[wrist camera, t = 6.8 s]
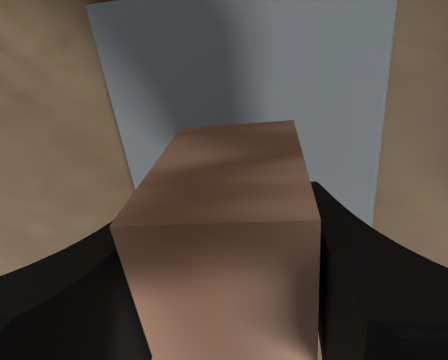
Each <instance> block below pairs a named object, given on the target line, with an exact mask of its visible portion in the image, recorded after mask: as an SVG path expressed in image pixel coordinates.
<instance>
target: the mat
mask: <svg viewBox="0 0 448 360" xmlns="http://www.w3.org/2000/svg"><path fill="white" fill-rule="evenodd" d="M85 6H86V10H87V14H88V17H89V21H90V25H91V29H92V32H93V36H94V40H95V43H96V47H97V51H98V54H99V58H100V62H101V66H102V69H103V73H104V77H105V80H106V84H107V88H108V91H109V95H110V99H111V102H112V106H113V110H114V114H115V117H116V121H117V125H118V128H119V132H120V136H121V139H122V143H123V147H124V151H125V154H126V158H127V162H128V165H129V169H130V173H131V176H132V180H133V184H134V187H135V190H136V189H137V187H138V186H139V185H140V183H141V182H142V181H143V179H144V178H145V176H146V175H147V174H148V172H149V171H150V169H151V168H152V167H153V165H154V164H155V163H156V161H157V160H158V158H159V157H160V156H161V154H162V153H163V151H164V150H165V149H166V147H167V146H168V144H169V143H170V142H171V140H172V139H173V138H174V136H175V135H176V133H177V132H178V131H179V129H181V128H194V127H207V126H220V125H233V124H246V123H259V122H272V121H285V120H294V123H295V127H296V131H297V134H298V138H299V142H300V145H301V149H302V153H303V156H304V160H305V164H306V167H307V171H308V175H309V178H310V182H313V181H317V182H318V183H319V184H320V185H321V186H323V187H324V188H325V189H326V190H327V191H328V192H329V193H330V194H331V195H332V196H333V197H334V198H335V199H336V200H337V201H339V202H340V203H341V204H342V205H343V206H344V207H345V208H347V209H348V210H349V211H350V212H352V213H353V214H354V215H355V216H357V217H358V218H359V219H361V220H362V221H363V222H365V223H366V224H368V225H369V226H370V227H372V221H373V212H374V203H375V194H376V185H377V176H378V167H379V158H380V149H381V140H382V131H383V122H384V113H385V105H386V96H387V87H388V78H389V69H390V60H391V51H392V42H393V33H394V24H395V15H396V6H397V0H116V1H109V2H102V3H95V4H88V5H85Z"/></svg>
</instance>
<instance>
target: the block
mask: <svg viewBox="0 0 448 360" xmlns="http://www.w3.org/2000/svg"><path fill="white" fill-rule="evenodd" d="M109 227H110V231H111V234H112V237H113V240H114V243H115V246H116V249H117V252H118V255H119V258H120V261H121V264H122V267H123V270H124V273H125V276H126V279H127V282H128V285H129V288H130V291H131V294H132V297H133V300H134V303H135V306H136V309H137V312H138V315H139V318H140V321H141V324H142V327H143V330H144V333H145V336H146V339H147V342H148V345H149V348H150V351H151V354H152V357H153V360H317V351H318V312H319V273H320V235H321V219H320V215H319V211H318V208H317V204H316V200H315V197H314V193H313V189H312V186H311V182H310V178H309V175H308V171H307V167H306V164H305V160H304V156H303V153H302V149H301V145H300V142H299V138H298V134H297V131H296V127H295V123H294V120H285V121H272V122H259V123H246V124H233V125H220V126H207V127H194V128H181V129H179V131H178V132H177V133H176V135H175V136H174V138H173V139H172V140H171V142H170V143H169V144H168V146H167V147H166V149H165V150H164V151H163V153H162V154H161V156H160V157H159V158H158V160H157V161H156V163H155V164H154V165H153V167H152V168H151V169H150V171H149V172H148V174H147V175H146V176H145V178H144V179H143V181H142V182H141V183H140V185H139V186H138V187H137V189H136V190H135V192H134V193H133V194H132V196H131V197H130V199H129V200H128V201H127V203H126V204H125V205H124V207H123V208H122V210H121V211H120V212H119V214H118V215H117V217H116V218H115V219H114V221H113V222H112V224H111V225H110V226H109Z"/></svg>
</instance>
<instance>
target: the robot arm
mask: <svg viewBox="0 0 448 360" xmlns="http://www.w3.org/2000/svg"><path fill="white" fill-rule="evenodd" d="M311 186H312V189H313V193H314V197H315V200H316V204H317V208H318V211H319V215H320V219H321V235H320V273H319V312H318V332H319V339H320V346H321V353H322V360H448V268H447V267H444V266H442V265H440V264H438V263H435V262H433V261H431V260H429V259H427V258H425V257H423V256H421V255H419V254H417V253H415V252H413V251H411V250H409V249H407V248H405V247H403V246H401V245H400V244H398V243H396V242H394V241H393V240H391V239H389V238H388V237H386V236H384V235H383V234H381V233H379V232H378V231H376V230H375V229H373V228H372V227H370V226H369V225H368V224H366V223H365V222H363V221H362V220H361V219H359V218H358V217H357V216H355V215H354V214H353V213H352V212H350V211H349V210H348V209H347V208H345V207H344V206H343V205H342V204H341V203H340V202H339V201H337V200H336V199H335V198H334V197H333V196H332V195H331V194H330V193H329V192H328V191H327V190H326V189H325V188H324V187H323V186H321V185H320V184H319V183H318V182H317V181H313V182H311ZM113 221H114V220H113ZM113 221H112V222H113ZM112 222H110V223H109V224H107V225H106V226H104V227H102V228H101V229H99V230H98V231H96V232H95V233H93V234H91V235H89V236H88V237H86V238H84V239H82V240H81V241H79V242H77V243H75V244H73V245H71V246H69V247H67V248H65V249H63V250H61V251H59V252H57V253H55V254H53V255H50V256H48V257H46V258H44V259H41V260H39V261H37V262H35V263H32V264H30V265H28V266H25V267H23V268H20V269H18V270H15V271H13V272H10V273H8V274H5V275H2V276H0V360H151V359H152V354H151V351H150V348H149V345H148V342H147V339H146V336H145V333H144V330H143V327H142V324H141V321H140V318H139V315H138V312H137V309H136V306H135V303H134V300H133V297H132V294H131V291H130V288H129V285H128V282H127V279H126V276H125V273H124V270H123V267H122V264H121V261H120V258H119V255H118V252H117V249H116V246H115V243H114V240H113V237H112V234H111V231H110V227H109V226H110V225H111V224H112Z"/></svg>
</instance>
